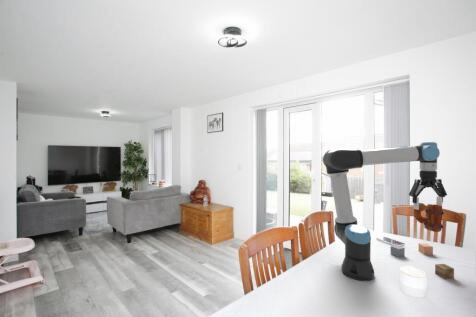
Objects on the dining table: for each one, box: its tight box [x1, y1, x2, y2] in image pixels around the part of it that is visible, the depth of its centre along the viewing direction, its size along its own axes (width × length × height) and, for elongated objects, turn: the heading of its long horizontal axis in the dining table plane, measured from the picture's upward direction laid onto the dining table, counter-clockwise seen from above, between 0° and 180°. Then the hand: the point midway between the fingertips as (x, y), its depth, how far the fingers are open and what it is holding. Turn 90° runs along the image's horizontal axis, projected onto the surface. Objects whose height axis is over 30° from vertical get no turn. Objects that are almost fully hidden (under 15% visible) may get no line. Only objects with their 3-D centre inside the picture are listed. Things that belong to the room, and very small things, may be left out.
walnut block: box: [434, 263, 455, 280], centre depth 118 cm, size 5×5×5 cm
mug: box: [413, 202, 445, 233], centre depth 131 cm, size 15×8×15 cm, turn 84°
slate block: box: [390, 244, 406, 258], centre depth 143 cm, size 5×5×5 cm
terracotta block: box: [418, 242, 434, 256], centre depth 145 cm, size 5×5×5 cm
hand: (427, 208), depth 131 cm, fingers closed on mug, 13 cm apart
